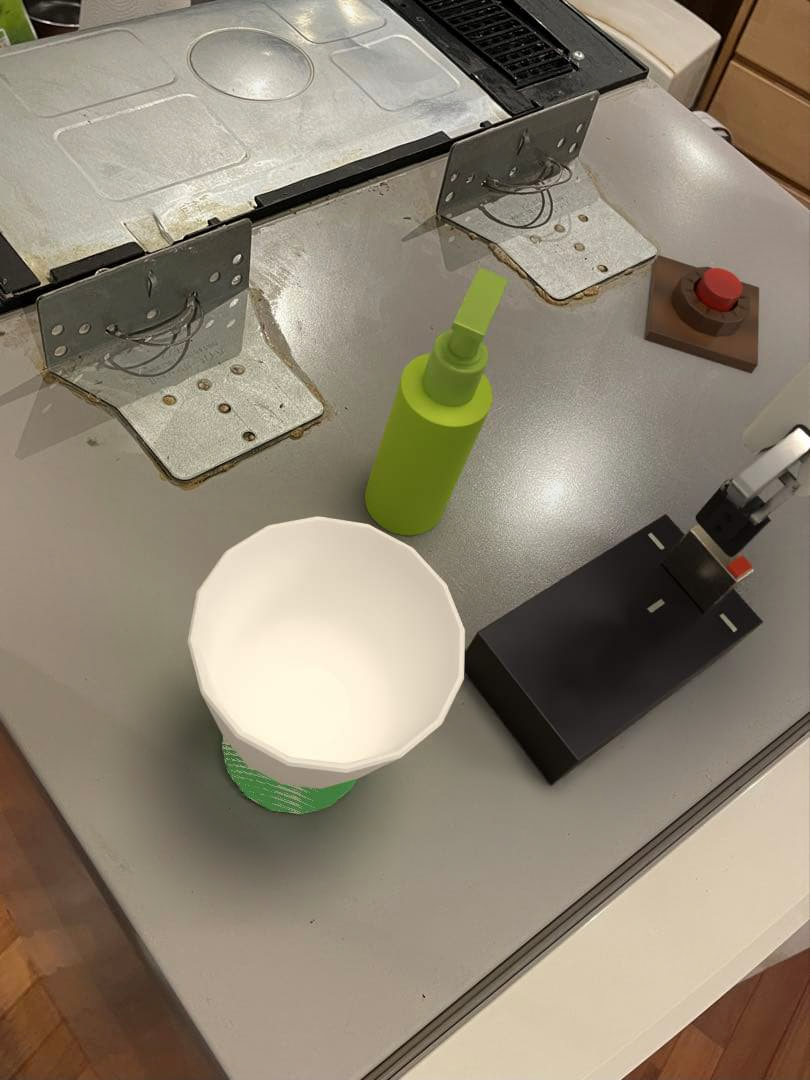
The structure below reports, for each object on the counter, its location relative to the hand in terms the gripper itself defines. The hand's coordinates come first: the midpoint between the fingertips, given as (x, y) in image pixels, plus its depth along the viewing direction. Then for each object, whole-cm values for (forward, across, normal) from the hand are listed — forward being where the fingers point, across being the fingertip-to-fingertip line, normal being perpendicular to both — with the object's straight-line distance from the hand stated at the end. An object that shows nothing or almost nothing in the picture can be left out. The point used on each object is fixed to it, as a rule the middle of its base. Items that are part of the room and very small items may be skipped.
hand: (767, 501), depth 60 cm
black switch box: (+15, +7, 0) cm, 16 cm away
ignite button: (+13, -24, -20) cm, 34 cm away
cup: (+14, +28, -6) cm, 32 cm away
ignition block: (+15, -24, -20) cm, 35 cm away
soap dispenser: (+15, +11, -17) cm, 25 cm away
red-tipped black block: (+10, +1, 0) cm, 10 cm away
